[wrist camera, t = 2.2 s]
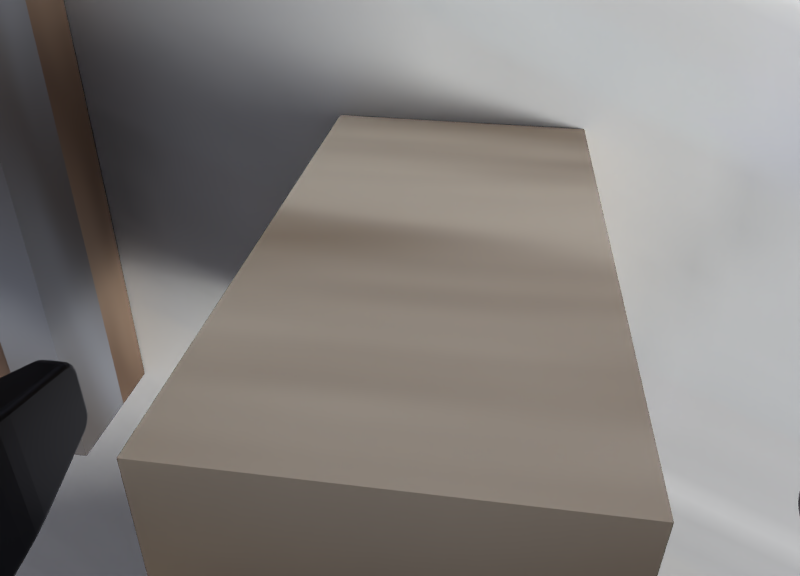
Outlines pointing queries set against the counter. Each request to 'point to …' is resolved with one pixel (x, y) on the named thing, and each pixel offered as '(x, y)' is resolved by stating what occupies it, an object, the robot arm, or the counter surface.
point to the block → (412, 377)
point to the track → (57, 221)
